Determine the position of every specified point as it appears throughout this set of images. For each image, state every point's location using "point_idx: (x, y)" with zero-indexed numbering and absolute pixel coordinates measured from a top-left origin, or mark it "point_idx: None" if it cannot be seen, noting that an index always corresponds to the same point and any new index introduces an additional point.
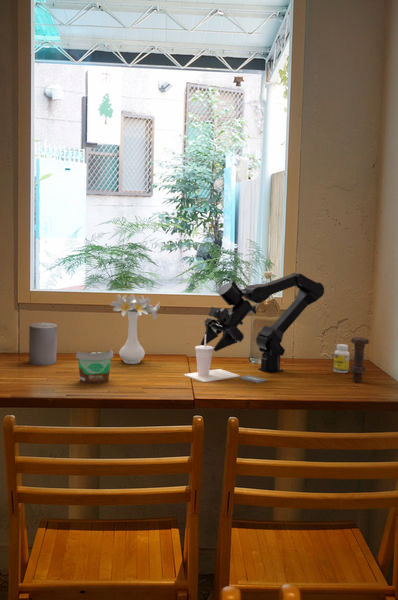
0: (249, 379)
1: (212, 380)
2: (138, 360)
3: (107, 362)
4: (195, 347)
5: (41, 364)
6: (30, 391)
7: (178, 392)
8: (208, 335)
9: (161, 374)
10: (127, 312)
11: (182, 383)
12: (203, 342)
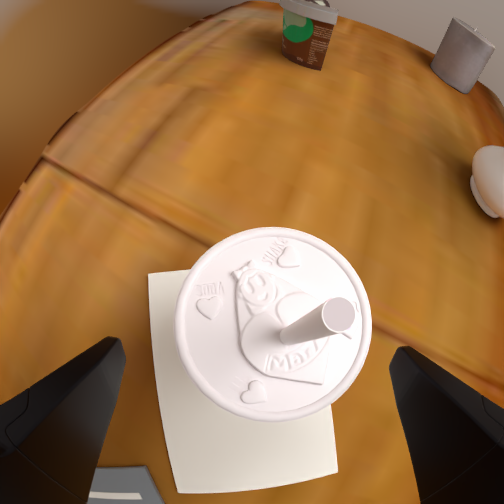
0: (100, 474)
1: (151, 328)
2: (482, 199)
3: (291, 18)
4: (300, 231)
5: (431, 65)
6: (268, 9)
7: (104, 141)
8: (460, 446)
9: (343, 187)
10: None
11: (181, 190)
12: (407, 373)
